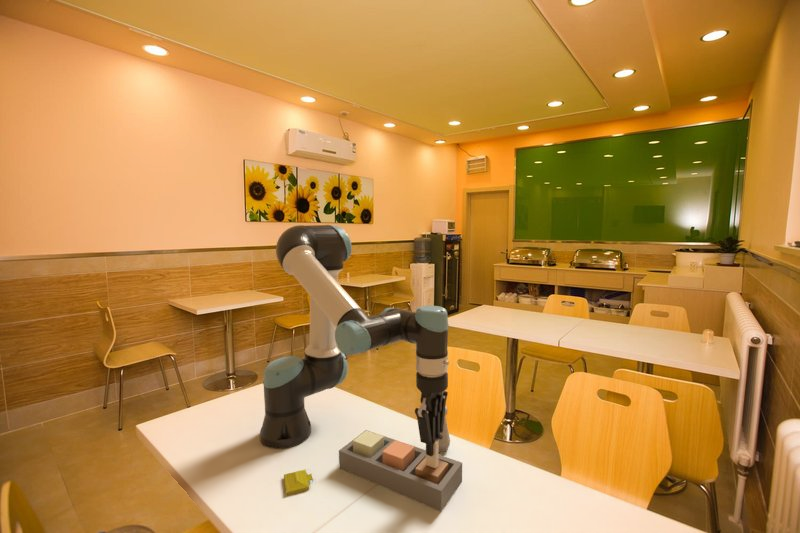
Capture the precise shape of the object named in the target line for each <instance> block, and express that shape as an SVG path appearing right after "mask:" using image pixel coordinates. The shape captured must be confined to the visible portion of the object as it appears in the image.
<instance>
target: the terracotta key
mask: <svg viewBox="0 0 800 533" xmlns="http://www.w3.org/2000/svg"><path fill="white" fill-rule="evenodd" d="M394 440H395V441H394V442H393V443H391V444H390V445H389V446H388V447H387V448H386V449H385V450H384V451H382V455H383V464H386V465H388V466H391V467H394V468H396V469H399V470H401V471H403V470H404V469H405V468H406V467H407V466H408V465H409V464H410V463H411V462H412V461H413V460H414V459H415V447H416V446H415V445H412V444H409V443H406V444H405V442H403V443H402V441H400V442H399V440H397V439H394ZM396 440H397V441H396ZM408 444H409V445H408ZM411 445H412V446H411ZM414 446H415V447H414Z"/></svg>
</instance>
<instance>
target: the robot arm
mask: <svg viewBox="0 0 800 533" xmlns="http://www.w3.org/2000/svg"><path fill="white" fill-rule="evenodd" d="M352 245H353V244H352V242H351V237H350V236H349V233H347V231H346V230H345V229H344V228H343V227H341V226H339V225H332V224H321V225H320V224H314V225H311V224H310V225H302V224H300V225H293V226H291V227H289V228H287V229H286V230H284V231H283V232H282V233H281V235H280V236H279V237H278V240H277V242H276V247H275V256H276V259H277V261H278V264H279V265H280V266H281V268H282V269H283V271H284V272H285V273H286V274H288V275H290V276H293V277H294V278H295V280H296V281H297V282H298V283H299V284H300V285H301V287H303V289H304V290H305V291H306V293H307V294H308V295H309V297H310V298H309V300H310V301H309V344H308V346H307V347H306V348H305V349H304V358H302V357H300V356H298V355H290V356H282V357H280V358H276V359H274V360H272V361H270V362H269V363H268V364H267V365H266V367H265V368H264V369H263V379H262V385H263V396H264V411H265V412H264V418H263V420H262V421H263V422H262V426H261V429H260V431H259V439H260V440H259V441H260V443H261V444H262V445H263V446H265V447H266V448H270V449H277V450H278V449H285V448H292V447H296V446H297V445H300V444H302V443H304V442H305V441H306V440H308V439H309V437H310V435H311V433H312V423H311V421H310V419H309V415H308V413H307V411H306V408H305V398H307V397H310V396H312V395H315V394H317V393H320V392H324V391H326V390H329V389H333V388H336V386H339V385H340V384H342V383H343V382H344V381H345V379H346V378H347V376H348V375H347V374H348V371H349V370H348V369H349V364H348V361H347V357H346V355H347V356H353V355H357V354H363V353H366V352H368V351H371V350H374V349H378V348H380V347H384V346H387V345H390V344H394V343H398V342H401V341H403V342H407V343H410V344H415V371H416V372H415V373H416V374H415V378H416V379H415V384H416V388H417V390H419V392H420V393H421V395H420V406H419V408H418V407H416V408H415V409H414V414H415V415H416V419H417V426H418V432H419V438H420V439H419V440H420V443H423V444H425V450H426V465H427V466H430V467H433V468H437V467H438V465H439V455H440V454H439V453H440V452H439V440H438V439H441V440H442V438H443V436H442V435H440V432H441V433H442V432H443V426H444V416H446V415H445V406H447V399H448V393H449V392H448V391H447V389H448V388H449V374H448V371H449V370H448V369H449V367H448V365H450V361H449V360H448V358H449V357H448V356H449V352H448V351H449V350H448V343H449V342H448V341H449V339H448V338H449V327H450V326H449V319H448V318H449V317H448V311H447V309H446V308H444V307H443V306H438V305H422V306H419V307H417V308H416V310H415V311H411V310H406V309H403V308H399V307H387V308H385V309H383V310H382V311H381V312H380V313H379V314H374V315H370V316H369V315H368V314H367V313H366V312H365V311H364V310H363V309H362V308H361V307H360V306H359V304H358V303H357V302H356V301H355V300H354V299H353V298H352V297H351V295H349V293H348V292H347V291H346V290H345V289H344V288H343V287H342V286H341V285H340V283H339V274H340V273H341V272H342V271H343V270H344V263H345V262H346V261H347V260H349V259H350V257H351V255H352V250H353V249H352V248H353V246H352Z"/></svg>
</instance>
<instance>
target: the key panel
mask: <svg viewBox="0 0 800 533" xmlns="http://www.w3.org/2000/svg"><path fill="white" fill-rule="evenodd" d="M366 430H367V429H366ZM366 430H364V431H362V433H364V432H365V431H366ZM367 431H370V432H373V433H376V432H374V431H371V430H367ZM362 433H360V434H359V435H357V436H356V437H355V438H353V439H352V440H351V441H350V442H348V443H347V444H346V445H344V446H343V447H341V448H340V449H339V450H338V468H339V469H340V470H343V471H344V472H347V473H349V474H351V475H354V476H357V477H359V478H361V479H364V480H366V481H368V482H370V483H372V484H375V485H377V486H380V487H382V488H384V489H387V490H389V491H392V492H394V493H396V494H399V495H401V496H403V497H406V498H408V499H411V500H413V501H415V502H417V503H420V504H422V505H425V506H427V507H429V508H431V509H433V510H436V511H439V512H442V511H443V510H444V509H445V507H446V505H447V504H448V503H449V501H450V500H451V498H452V497H453V496H454V494H455V493H456V491H457V489H459V487H460V485H461V483H462V482H463V462H461V461H459V460H455V459H452V458H449V457H447V456H444V455H441V454H439V460H441V461H443V462H446V463H448V473H447V474H446V475H445V477H444V478H443V479H442V481H441V482H440V483H439V485H437V484H435V483H432V482H430V481H427V480H425V479H422V478H419V477H417V476H415V468H416V467H417V466H418V465H419V464H420V463H421V462H422V461H423V459H424V458H425V457H426V449H423V448H420V447H418V446H415V445H412V444H410V443H405V442H402V441H399V440H397V439H395V438H391V437H388V436H385V435H382V434H380V433H376V434H379V435H381V436H384V447H383V448H382V449H381V450H380V451H378V452H377V453H376V454H375V455H374V456H373V457H372V458H368V457H365V456H363V455H360V454H357V453H355V452H353V440H354V439H356V438H357V437H358V436H360V435H361V434H362ZM395 440H396V441H399V442H402V443H405V444H408V445H411V446H414V447H415V459H414V460H413V461H412V462H411V463H410V464H409V465H408V466H407V467H406V468H405V469H404V470H403V471H401V470H399V469H396V468H394V467H391V466H388V465H386V464H383V455H382V451H384V450H385V449H386V448H387V447H388V446H389V445H390V444H391V443H393V442H394V441H395Z"/></svg>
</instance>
